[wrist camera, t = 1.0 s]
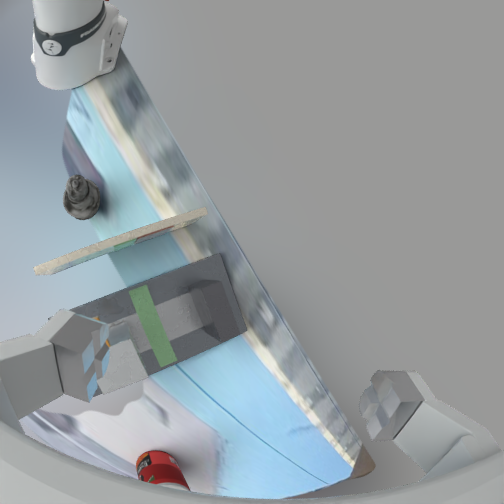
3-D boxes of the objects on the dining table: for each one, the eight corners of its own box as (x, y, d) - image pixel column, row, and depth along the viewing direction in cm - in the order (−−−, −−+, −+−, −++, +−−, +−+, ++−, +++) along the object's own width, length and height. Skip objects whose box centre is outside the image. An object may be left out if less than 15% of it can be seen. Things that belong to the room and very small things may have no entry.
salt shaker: (107, 195, 42) (106, 171, 31) (90, 228, 41) (82, 214, 30) (78, 179, 40) (68, 150, 29) (60, 211, 39) (43, 192, 28)
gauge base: (87, 396, 38) (83, 424, 29) (34, 274, 36) (14, 275, 27) (244, 329, 51) (273, 340, 42) (204, 214, 49) (225, 201, 40)
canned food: (138, 445, 41) (148, 482, 31) (181, 452, 44) (198, 486, 34) (132, 475, 39) (141, 512, 29) (172, 480, 42) (188, 516, 32)
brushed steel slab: (105, 364, 39) (103, 394, 28) (82, 312, 38) (71, 327, 27) (139, 350, 41) (148, 377, 30) (117, 299, 40) (118, 309, 30)
